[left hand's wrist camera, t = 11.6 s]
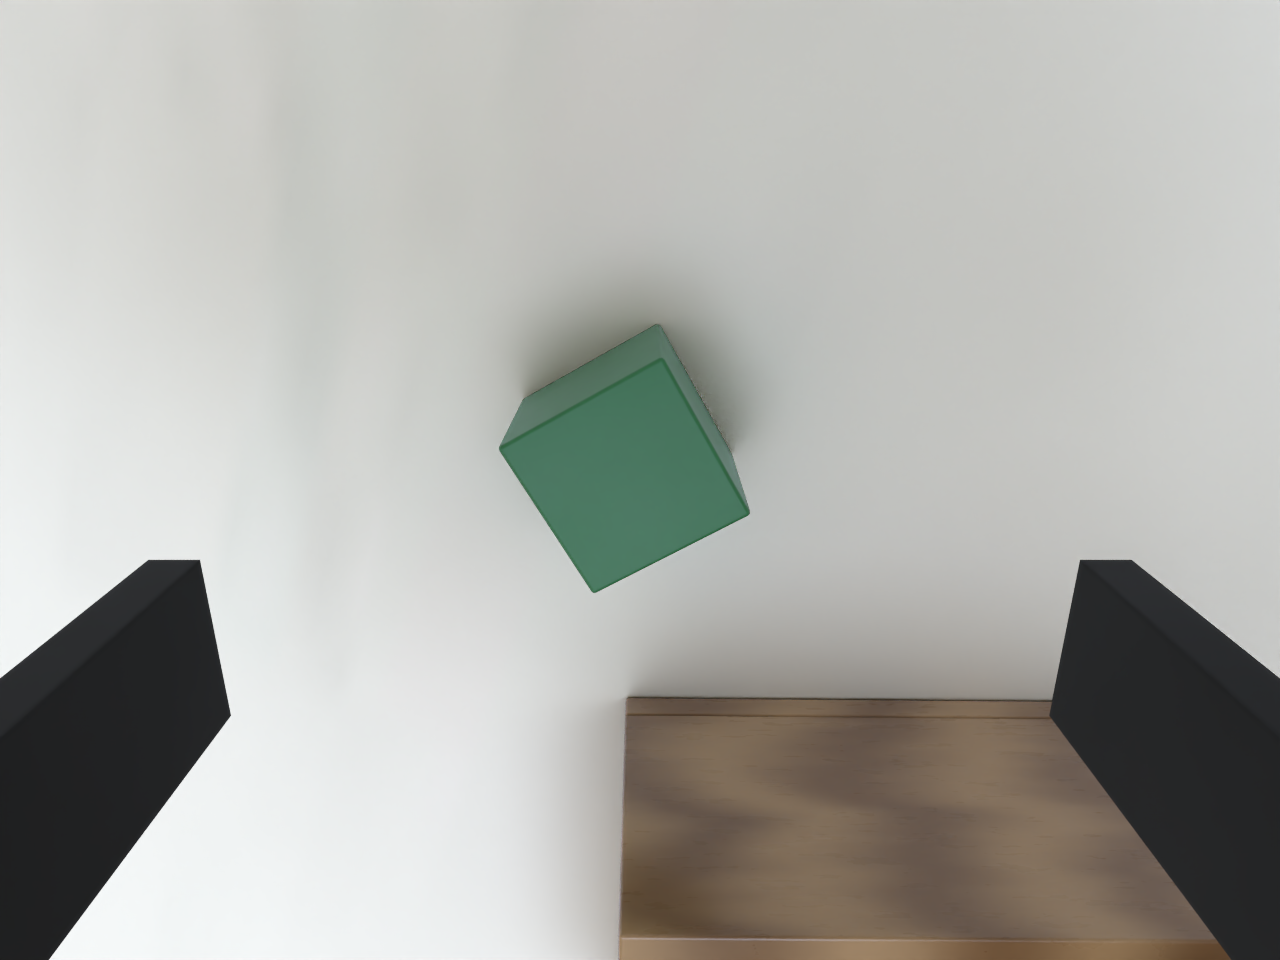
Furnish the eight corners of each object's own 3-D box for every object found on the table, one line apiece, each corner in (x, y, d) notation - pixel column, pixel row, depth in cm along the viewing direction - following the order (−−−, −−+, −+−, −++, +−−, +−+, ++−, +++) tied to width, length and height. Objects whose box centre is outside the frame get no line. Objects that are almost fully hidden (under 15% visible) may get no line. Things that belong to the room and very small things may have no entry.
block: (601, 525, 24) (592, 595, 20) (521, 399, 23) (496, 448, 19) (732, 455, 23) (751, 515, 19) (658, 322, 22) (662, 356, 18)
